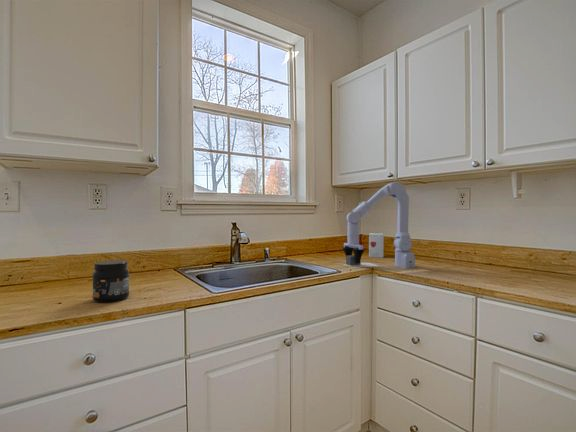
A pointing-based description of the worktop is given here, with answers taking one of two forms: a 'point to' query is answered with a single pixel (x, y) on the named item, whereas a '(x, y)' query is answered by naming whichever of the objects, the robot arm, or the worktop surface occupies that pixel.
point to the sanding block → (351, 261)
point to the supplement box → (376, 245)
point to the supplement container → (110, 281)
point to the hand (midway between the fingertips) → (353, 262)
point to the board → (364, 265)
